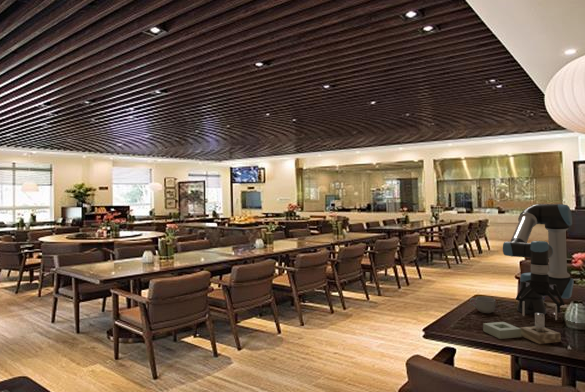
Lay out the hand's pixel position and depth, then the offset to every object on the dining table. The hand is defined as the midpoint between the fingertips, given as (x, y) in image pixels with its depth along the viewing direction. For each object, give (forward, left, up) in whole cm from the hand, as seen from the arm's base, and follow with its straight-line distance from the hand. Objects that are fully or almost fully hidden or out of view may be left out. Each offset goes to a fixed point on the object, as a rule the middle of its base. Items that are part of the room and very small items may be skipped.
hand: (539, 317), depth 201 cm
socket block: (+13, -10, -10) cm, 19 cm away
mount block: (0, 0, -10) cm, 10 cm away
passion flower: (-53, -59, -11) cm, 80 cm away
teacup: (-5, -48, -11) cm, 50 cm away
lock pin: (0, 0, -10) cm, 10 cm away
